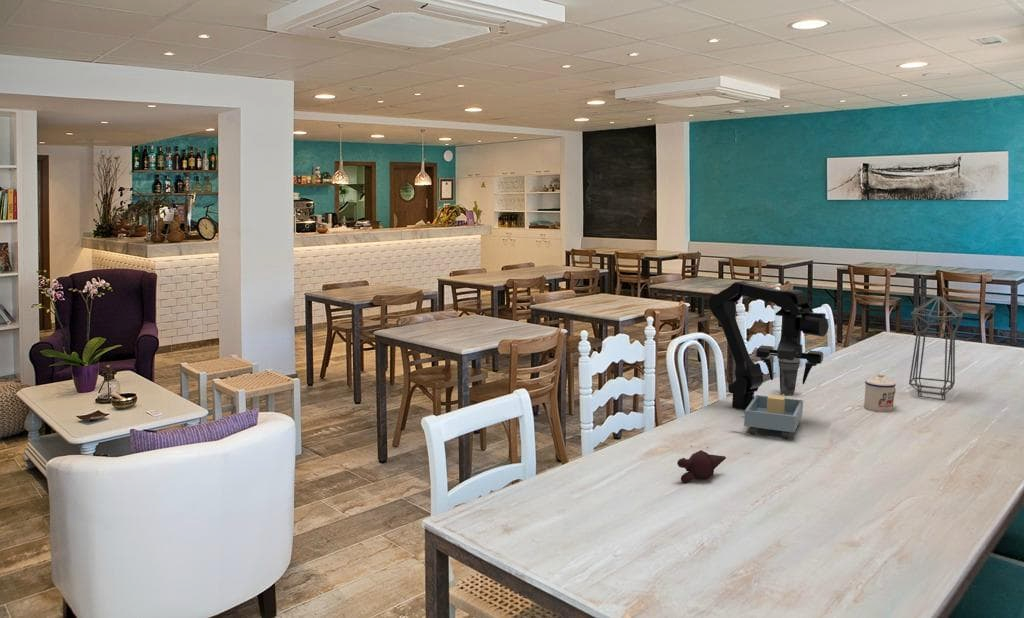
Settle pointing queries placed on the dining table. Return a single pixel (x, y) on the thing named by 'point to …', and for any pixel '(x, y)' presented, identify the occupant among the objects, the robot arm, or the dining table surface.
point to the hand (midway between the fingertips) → (787, 382)
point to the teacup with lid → (879, 393)
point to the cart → (773, 416)
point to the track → (762, 435)
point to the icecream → (699, 465)
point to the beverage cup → (788, 375)
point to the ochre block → (776, 404)
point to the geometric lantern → (951, 348)
